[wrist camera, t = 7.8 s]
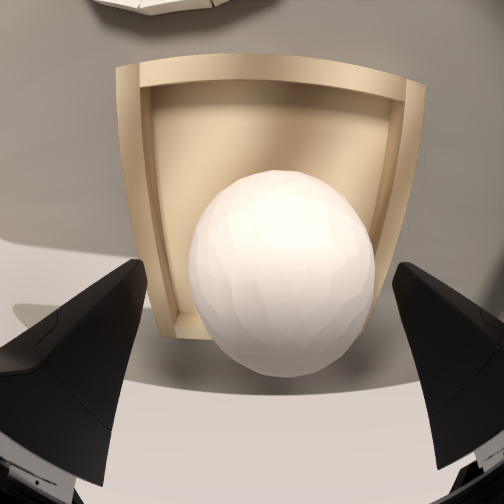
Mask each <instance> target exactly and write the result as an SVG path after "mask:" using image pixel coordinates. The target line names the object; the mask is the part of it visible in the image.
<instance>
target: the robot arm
mask: <svg viewBox="0 0 504 504" xmlns="http://www.w3.org/2000/svg"><path fill="white" fill-rule="evenodd" d="M147 285H148V280H147V275H146V271H145V267H144V263H143V261H142V260H141V259H130V260H129V261H127V262H126V263H124V264H123V265H121V266H120V267H118V268H116V269H115V270H114V271H112V272H110V273H109V274H107V275H106V276H104V277H103V278H101V279H100V280H98V281H97V282H95V283H94V284H92V285H91V286H89V287H88V288H86V289H85V290H84V291H82V292H81V293H79V294H78V295H76V296H75V297H74V298H72V299H71V300H69V301H68V302H66V303H65V304H64V305H62V306H61V307H59V310H58V309H56V310H55V311H54V312H52V313H51V314H50V315H48V316H47V317H45V318H44V319H43V320H41V321H40V322H38V323H37V324H35V325H34V326H32V327H31V328H29V329H28V330H26V331H25V332H23V333H22V334H20V335H19V336H17V337H16V338H14V339H13V340H11V341H10V342H8V343H7V344H5V345H4V346H2V347H0V504H84V503H83V501H82V500H81V498H80V497H79V495H78V493H77V492H76V490H75V488H74V486H75V481H76V477H77V478H79V479H82V480H84V481H87V482H90V483H92V484H95V485H98V486H101V487H102V486H103V482H104V475H105V468H106V461H107V455H108V449H109V444H110V438H111V431H112V427H113V422H114V418H115V413H116V409H117V404H118V399H119V396H120V392H121V387H122V383H123V380H124V376H125V372H126V368H127V364H128V361H129V357H130V354H131V350H132V347H133V343H134V340H135V337H136V333H137V330H138V327H139V323H140V319H141V314H142V309H143V304H144V299H145V294H146V290H147ZM392 287H393V291H394V294H395V298H396V302H397V306H398V310H399V314H400V317H401V321H402V324H403V327H404V330H405V333H406V336H407V339H408V342H409V345H410V348H411V352H412V355H413V358H414V362H415V365H416V368H417V372H418V376H419V379H420V383H421V387H422V390H423V395H424V399H425V403H426V407H427V412H428V417H429V422H430V427H431V433H432V438H433V444H434V450H435V457H436V465H437V469H438V470H440V469H442V468H444V467H446V466H448V465H450V464H452V463H454V462H456V461H458V460H460V459H462V458H463V457H465V456H467V455H469V454H470V453H472V452H475V456H476V460H475V461H473V462H472V463H470V464H469V465H467V466H465V467H463V468H462V469H460V471H459V473H458V476H457V478H456V480H455V482H454V485H453V486H452V489H451V491H450V493H449V494H448V495H447V496H444V497H442V498H440V499H439V500H437V501H435V502H432V503H430V504H504V323H503V322H502V321H500V320H499V319H497V318H495V317H494V316H493V315H491V314H490V313H488V312H487V311H485V310H484V309H482V308H481V307H479V306H478V305H476V304H475V303H473V302H472V301H471V300H469V299H468V298H466V297H465V296H463V295H462V294H460V293H458V292H457V291H455V290H454V289H452V288H451V287H449V286H448V285H446V284H444V283H443V282H441V281H440V280H438V279H436V278H435V277H433V276H432V275H430V274H428V273H427V272H425V271H423V270H422V269H420V268H418V267H417V266H415V265H413V264H412V263H410V262H401V263H399V265H398V267H397V270H396V272H395V275H394V278H393V281H392Z"/></svg>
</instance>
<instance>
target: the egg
mask: <svg viewBox="0 0 504 504" xmlns="http://www.w3.org/2000/svg"><path fill="white" fill-rule="evenodd" d="M188 277H189V286H190V294H191V298H192V300H193V302H194V305H195V307H196V309H197V311H198V314H199V316H200V318H201V320H202V322H203V324H204V326H205V328H206V330H207V332H208V333H209V335H210V336H211V337H212V339H213V340H214V341H215V343H216V344H217V345H218V346H219V348H220V349H222V350H223V351H224V352H225V353H226V354H227V355H228V356H229V357H230V358H232V359H233V360H235V361H236V362H238V363H240V364H242V365H243V366H245V367H247V368H249V369H251V370H253V371H255V372H257V373H259V374H262V375H268V376H276V377H287V378H292V377H297V376H302V375H307V374H312V373H314V372H317V371H319V370H321V369H323V368H325V367H326V366H328V365H329V364H331V363H332V362H334V361H335V360H337V359H338V358H340V357H341V356H343V354H344V353H345V352H346V351H347V350H348V348H349V347H350V346H351V345H352V344H353V342H354V341H355V340H356V338H357V337H358V336H359V334H360V333H361V331H362V329H363V326H364V324H365V321H366V318H367V316H368V313H369V310H370V307H371V303H372V299H373V292H374V279H375V262H374V254H373V247H372V244H371V242H370V239H369V236H368V233H367V230H366V228H365V226H364V224H363V223H362V221H361V220H360V218H359V216H358V215H357V213H356V212H355V210H354V209H353V208H352V206H351V205H350V204H349V202H348V201H347V200H346V199H345V197H344V196H342V195H341V194H340V193H338V192H337V191H336V190H335V189H333V188H332V187H330V186H329V185H328V184H326V183H325V182H323V181H322V180H320V179H318V178H315V177H312V176H309V175H306V174H304V173H301V172H296V171H282V170H270V171H266V172H261V173H257V174H253V175H250V176H247V177H244V178H241V179H239V180H237V181H236V182H234V183H233V184H231V185H230V186H228V187H227V188H226V189H224V190H223V191H221V192H220V193H218V195H217V196H216V197H215V198H214V199H213V201H212V202H211V203H210V204H209V206H208V207H207V208H206V209H205V210H204V212H203V214H202V216H201V218H200V220H199V221H198V223H197V225H196V227H195V230H194V234H193V238H192V242H191V246H190V250H189V254H188Z"/></svg>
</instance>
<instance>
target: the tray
mask: <svg viewBox="0 0 504 504" xmlns="http://www.w3.org/2000/svg"><path fill="white" fill-rule="evenodd" d="M425 96H426V85H423V84H420V83H418V82H415V81H412V80H409V79H405V78H402V77H399V76H396V75H392V74H389V73H385V72H381V71H378V70H374V69H369V68H365V67H361V66H356V65H351V64H346V63H341V62H336V61H330V60H323V59H316V58H308V57H300V56H289V55H276V54H252V53H230V54H206V55H192V56H182V57H173V58H166V59H159V60H152V61H147V62H141V63H136V64H131V65H126V66H122V67H117V68H116V100H117V118H118V131H119V142H120V152H121V161H122V169H123V176H124V183H125V190H126V196H127V202H128V208H129V213H130V219H131V224H132V229H133V234H134V239H135V244H136V248H137V253H138V257H139V259H141V260H142V261H143V263H144V267H145V271H146V275H147V280H148V285H147V292H148V296H149V299H150V303H151V307H152V310H153V313H154V317H155V320H156V323H157V326H158V329H159V333H160V336H161V337H171V338H184V339H201V340H213V339H212V337H211V336H210V335H209V333H208V332H207V330H206V328H205V326H204V324H203V322H202V320H201V318H200V316H199V314H198V311H197V309H196V307H195V305H194V302H193V300H192V298H191V294H190V286H189V277H188V254H189V250H190V246H191V242H192V238H193V234H194V230H195V227H196V225H197V223H198V221H199V220H200V218H201V216H202V214H203V212H204V210H205V209H206V208H207V207H208V206H209V204H210V203H211V202H212V201H213V199H214V198H215V197H216V196H217V195H218V193H220V192H221V191H223V190H224V189H226V188H227V187H228V186H230V185H231V184H233V183H234V182H236V181H237V180H239V179H241V178H244V177H247V176H250V175H253V174H257V173H261V172H266V171H270V170H282V171H296V172H301V173H304V174H306V175H309V176H312V177H315V178H318V179H320V180H322V181H323V182H325V183H326V184H328V185H329V186H330V187H332V188H333V189H335V190H336V191H337V192H338V193H340V194H341V195H342V196H344V197H345V199H346V200H347V201H348V202H349V204H350V205H351V206H352V208H353V209H354V210H355V212H356V213H357V215H358V216H359V218H360V220H361V221H362V223H363V224H364V226H365V228H366V230H367V233H368V236H369V239H370V242H371V244H372V247H373V254H374V262H375V279H374V292H373V299H372V303H371V307H370V310H369V313H368V316H367V318H366V321H365V324H364V326H363V329H362V331H361V333H360V334H359V336H358V337H361V336H362V334H363V332H364V330H365V327H366V325H367V323H368V321H369V318H370V316H371V313H372V311H373V308H374V306H375V303H376V301H377V298H378V296H379V293H380V291H381V288H382V285H383V283H384V280H385V277H386V274H387V271H388V268H389V265H390V263H391V260H392V256H393V253H394V250H395V247H396V244H397V241H398V237H399V234H400V230H401V227H402V223H403V220H404V216H405V212H406V208H407V204H408V200H409V196H410V192H411V187H412V183H413V178H414V173H415V168H416V163H417V157H418V152H419V146H420V139H421V132H422V125H423V116H424V107H425Z"/></svg>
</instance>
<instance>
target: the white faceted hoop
mask: <svg viewBox="0 0 504 504" xmlns="http://www.w3.org/2000/svg"><path fill="white" fill-rule="evenodd" d="M94 1H96V2H99V3H101V4H103V5H106V6H111V7H116V8H120V9H125V10H129V11H133V12H137V13H140V14H144V15H147V16H148V15H151V16H152V15H158V14H163V13H169V12H176V11H183V10H192V9H202V8H212V3H213V4H214V6H215V7H216V6H218V5H220V4H223V3H225V2H227V1H229V0H94Z"/></svg>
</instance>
